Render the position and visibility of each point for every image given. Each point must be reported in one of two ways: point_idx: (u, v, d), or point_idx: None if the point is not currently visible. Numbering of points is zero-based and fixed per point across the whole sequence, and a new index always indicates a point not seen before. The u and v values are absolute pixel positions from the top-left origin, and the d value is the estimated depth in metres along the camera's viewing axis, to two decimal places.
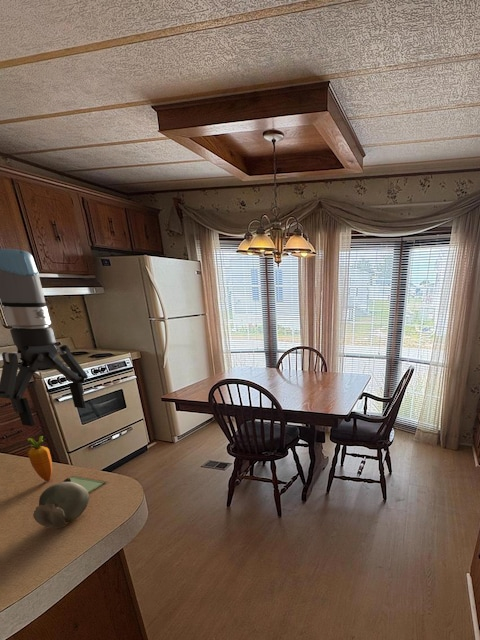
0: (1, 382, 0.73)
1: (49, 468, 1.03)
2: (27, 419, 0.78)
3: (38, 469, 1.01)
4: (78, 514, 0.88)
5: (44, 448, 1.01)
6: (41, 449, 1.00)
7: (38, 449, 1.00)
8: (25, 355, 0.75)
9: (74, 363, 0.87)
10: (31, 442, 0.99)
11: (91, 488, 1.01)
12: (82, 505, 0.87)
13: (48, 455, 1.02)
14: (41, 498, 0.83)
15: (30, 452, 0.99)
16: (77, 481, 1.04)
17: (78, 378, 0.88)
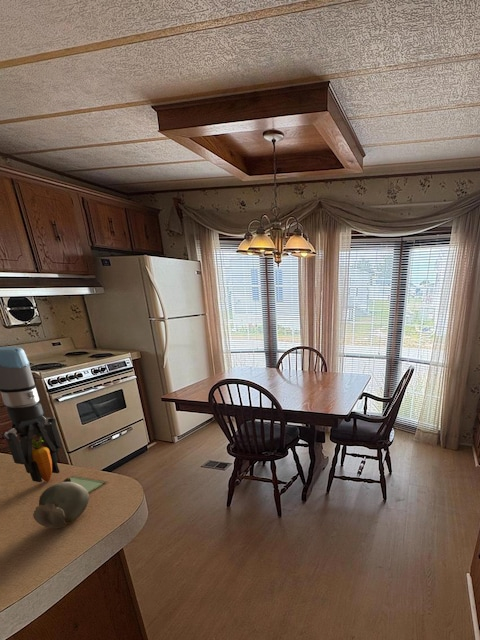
0: (12, 453, 0.95)
1: (49, 468, 1.03)
2: (36, 477, 1.01)
3: None
4: (78, 514, 0.88)
5: (44, 448, 1.01)
6: (41, 449, 1.00)
7: (38, 449, 1.00)
8: (19, 429, 0.94)
9: (54, 433, 1.04)
10: None
11: (91, 488, 1.01)
12: (82, 505, 0.87)
13: (48, 455, 1.02)
14: (41, 498, 0.83)
15: None
16: (77, 481, 1.04)
17: (53, 448, 1.04)
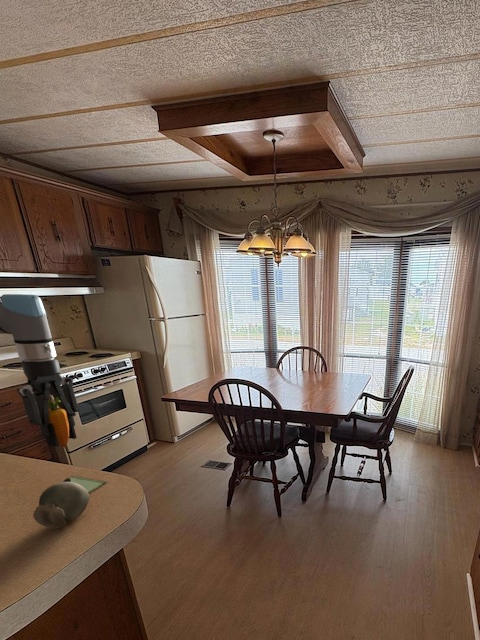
0: (28, 413, 0.87)
1: (66, 432, 0.95)
2: (52, 441, 0.93)
3: (55, 432, 0.93)
4: (78, 514, 0.88)
5: (61, 410, 0.93)
6: (58, 410, 0.92)
7: (55, 410, 0.92)
8: (35, 385, 0.86)
9: (71, 395, 0.96)
10: None
11: (91, 488, 1.01)
12: (82, 505, 0.87)
13: (65, 417, 0.94)
14: (41, 498, 0.83)
15: None
16: (77, 481, 1.04)
17: (70, 411, 0.96)
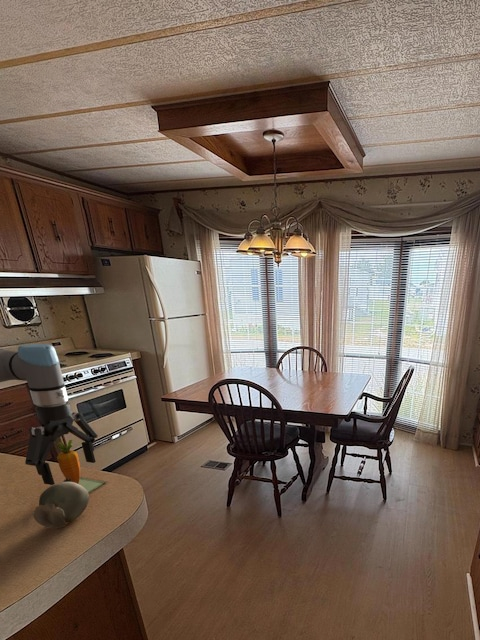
0: (28, 452, 0.88)
1: (78, 473, 1.00)
2: (48, 480, 0.93)
3: (67, 474, 0.98)
4: (78, 514, 0.88)
5: (73, 452, 0.98)
6: (70, 453, 0.97)
7: (67, 453, 0.97)
8: (47, 428, 0.91)
9: (86, 427, 1.02)
10: (60, 446, 0.96)
11: (91, 488, 1.01)
12: (82, 505, 0.87)
13: (77, 459, 0.99)
14: (41, 498, 0.83)
15: (60, 457, 0.96)
16: None
17: (89, 438, 1.04)
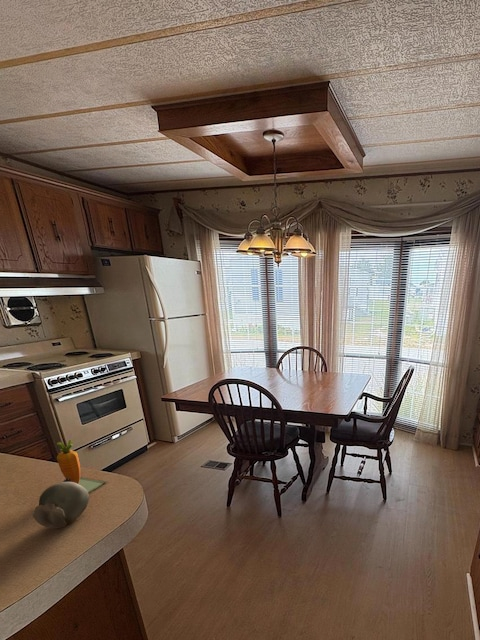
0: None
1: (78, 473, 1.00)
2: None
3: (67, 474, 0.98)
4: (78, 514, 0.88)
5: (73, 452, 0.98)
6: (70, 453, 0.97)
7: (67, 453, 0.97)
8: None
9: None
10: (60, 446, 0.96)
11: (91, 488, 1.01)
12: (82, 505, 0.87)
13: (77, 459, 0.99)
14: (41, 498, 0.83)
15: (60, 457, 0.96)
16: None
17: None
